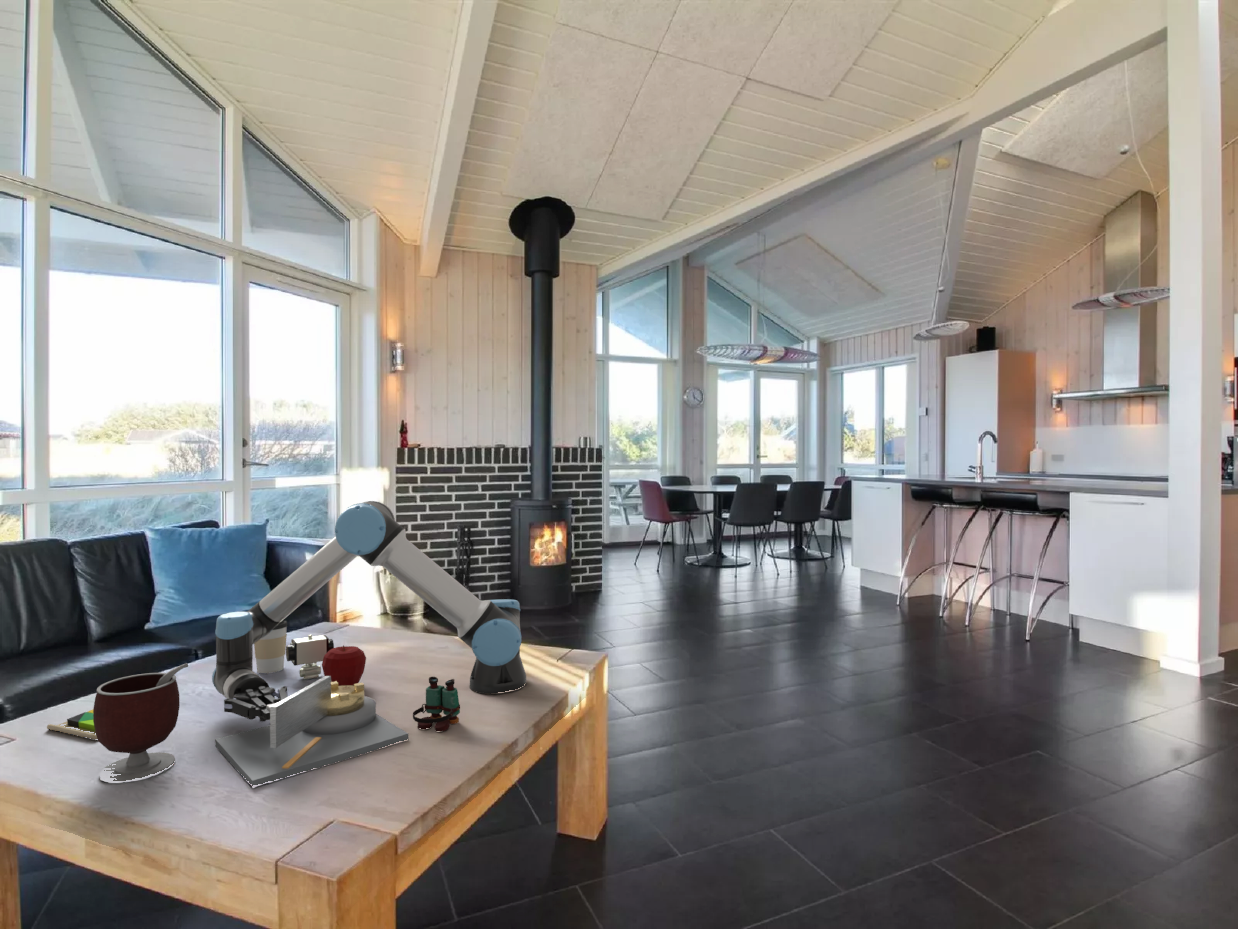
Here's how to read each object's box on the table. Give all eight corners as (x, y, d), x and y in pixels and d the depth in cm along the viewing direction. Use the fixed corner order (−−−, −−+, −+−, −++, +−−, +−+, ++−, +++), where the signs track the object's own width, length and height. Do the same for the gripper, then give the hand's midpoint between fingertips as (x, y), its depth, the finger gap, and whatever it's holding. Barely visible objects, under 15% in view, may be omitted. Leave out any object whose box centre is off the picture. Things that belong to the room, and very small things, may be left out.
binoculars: (405, 690, 151) (431, 672, 160) (408, 735, 152) (434, 715, 162) (439, 694, 148) (464, 676, 158) (442, 740, 149) (466, 719, 159)
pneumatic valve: (334, 675, 192) (334, 633, 191) (288, 683, 185) (288, 639, 185) (330, 670, 196) (329, 629, 196) (285, 678, 189) (285, 635, 189)
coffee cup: (294, 668, 199) (293, 617, 198) (263, 676, 191) (263, 623, 191) (276, 663, 203) (276, 613, 203) (246, 671, 196) (245, 619, 196)
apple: (329, 698, 173) (329, 653, 173) (316, 688, 181) (315, 644, 181) (372, 688, 181) (372, 645, 181) (357, 679, 189) (357, 637, 189)
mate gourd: (83, 791, 125) (82, 683, 125) (105, 761, 138) (104, 662, 138) (182, 775, 131) (181, 672, 131) (194, 747, 144) (194, 654, 144)
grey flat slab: (358, 708, 166) (358, 690, 166) (408, 740, 148) (408, 719, 148) (215, 746, 145) (215, 725, 145) (252, 788, 126) (252, 764, 126)
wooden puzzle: (43, 733, 153) (43, 717, 153) (129, 705, 171) (129, 691, 171) (94, 745, 147) (94, 728, 147) (178, 714, 164) (178, 699, 164)
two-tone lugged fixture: (329, 697, 161) (329, 662, 161) (373, 699, 160) (373, 664, 160) (247, 747, 133) (247, 705, 133) (299, 751, 131) (298, 708, 131)
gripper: (277, 699, 158) (314, 728, 141) (213, 714, 149) (245, 747, 132) (277, 667, 158) (314, 692, 141) (213, 680, 149) (245, 708, 132)
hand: (280, 719), depth 137 cm, fingers closed
